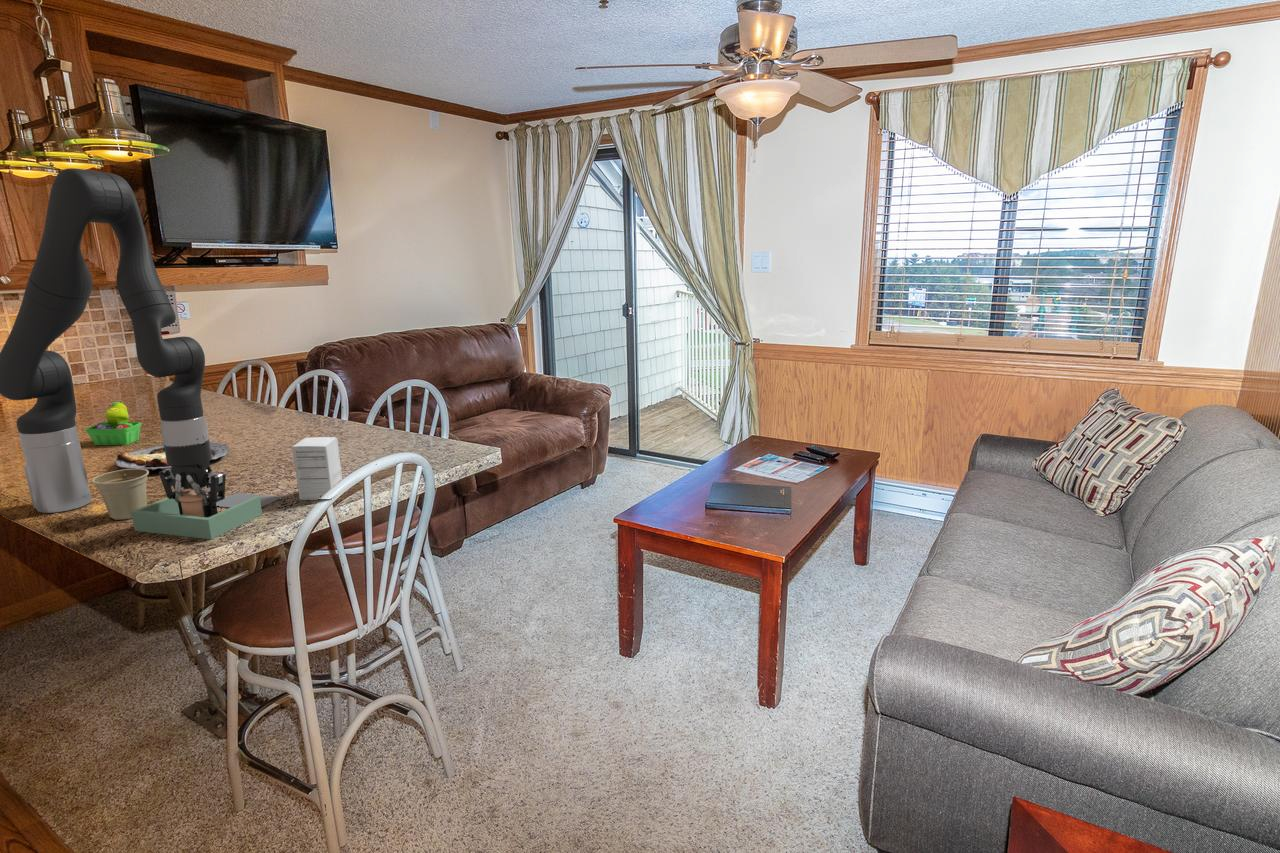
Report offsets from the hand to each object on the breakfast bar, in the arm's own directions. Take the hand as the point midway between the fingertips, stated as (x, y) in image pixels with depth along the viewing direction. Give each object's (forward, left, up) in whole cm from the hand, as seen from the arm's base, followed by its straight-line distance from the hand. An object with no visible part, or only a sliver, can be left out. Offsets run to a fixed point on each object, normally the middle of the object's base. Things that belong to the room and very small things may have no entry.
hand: (199, 519), depth 137 cm
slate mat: (0, +12, -1) cm, 12 cm away
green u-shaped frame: (0, 0, -1) cm, 1 cm away
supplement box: (+13, +20, -1) cm, 24 cm away
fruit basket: (-72, +44, -1) cm, 84 cm away
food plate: (-41, +33, -1) cm, 53 cm away
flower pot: (-18, 0, -1) cm, 18 cm away
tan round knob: (0, 0, -1) cm, 1 cm away
